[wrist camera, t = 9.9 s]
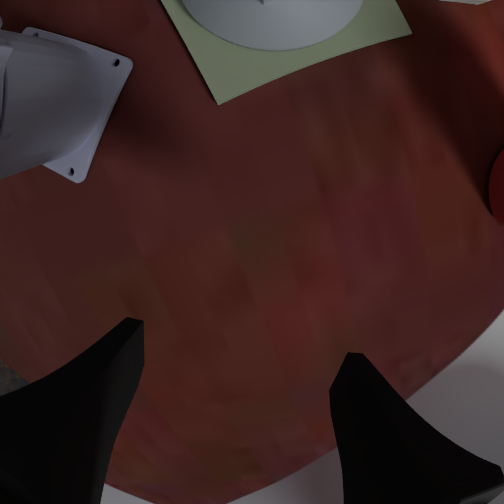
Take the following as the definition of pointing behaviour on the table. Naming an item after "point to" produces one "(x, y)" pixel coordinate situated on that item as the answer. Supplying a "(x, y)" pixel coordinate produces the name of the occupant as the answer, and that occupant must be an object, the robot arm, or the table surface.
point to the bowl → (469, 1)
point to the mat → (284, 62)
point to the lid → (273, 21)
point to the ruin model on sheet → (10, 379)
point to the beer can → (497, 189)
